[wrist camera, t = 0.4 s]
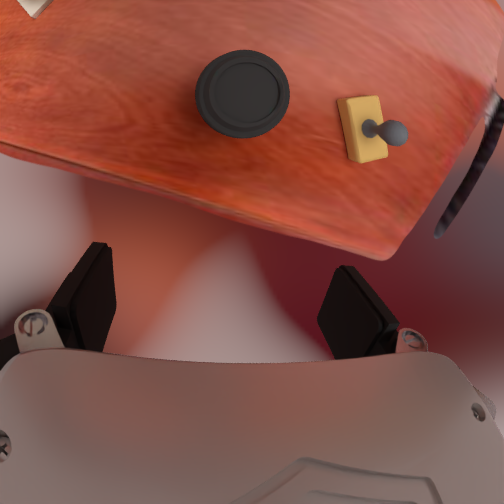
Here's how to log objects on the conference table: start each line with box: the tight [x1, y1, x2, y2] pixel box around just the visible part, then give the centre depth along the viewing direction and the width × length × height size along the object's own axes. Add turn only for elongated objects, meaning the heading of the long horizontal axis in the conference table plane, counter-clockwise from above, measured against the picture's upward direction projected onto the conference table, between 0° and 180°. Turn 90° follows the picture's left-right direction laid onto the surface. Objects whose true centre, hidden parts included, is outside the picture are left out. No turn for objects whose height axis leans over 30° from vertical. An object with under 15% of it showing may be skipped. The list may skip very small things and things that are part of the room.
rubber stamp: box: [337, 95, 408, 163], centre depth 33 cm, size 10×6×12 cm, turn 16°
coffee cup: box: [195, 50, 290, 138], centre depth 27 cm, size 9×9×15 cm
